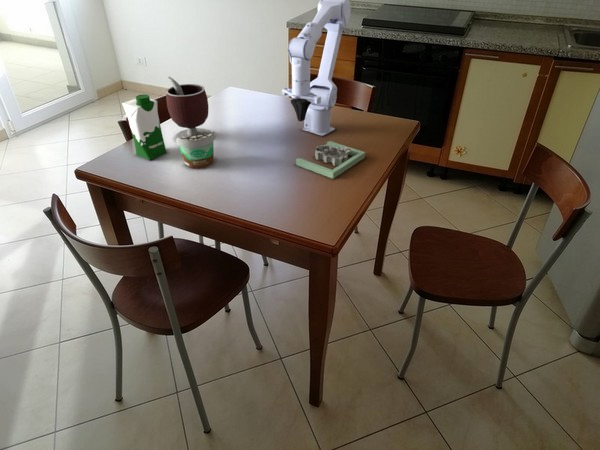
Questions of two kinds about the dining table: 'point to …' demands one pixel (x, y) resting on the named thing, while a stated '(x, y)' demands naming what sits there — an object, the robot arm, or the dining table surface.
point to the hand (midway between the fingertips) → (301, 120)
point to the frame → (339, 169)
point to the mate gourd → (187, 107)
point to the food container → (197, 150)
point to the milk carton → (145, 127)
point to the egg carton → (331, 154)
